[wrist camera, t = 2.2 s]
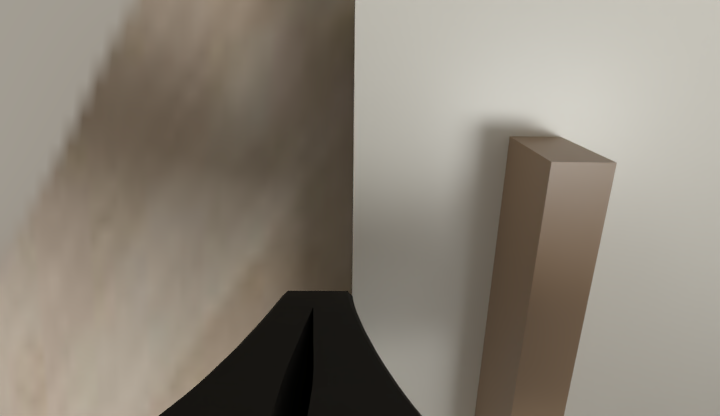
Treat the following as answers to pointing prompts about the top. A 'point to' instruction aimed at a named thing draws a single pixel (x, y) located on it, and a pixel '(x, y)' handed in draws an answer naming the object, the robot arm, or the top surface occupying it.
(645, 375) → the lid
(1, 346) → the top surface
